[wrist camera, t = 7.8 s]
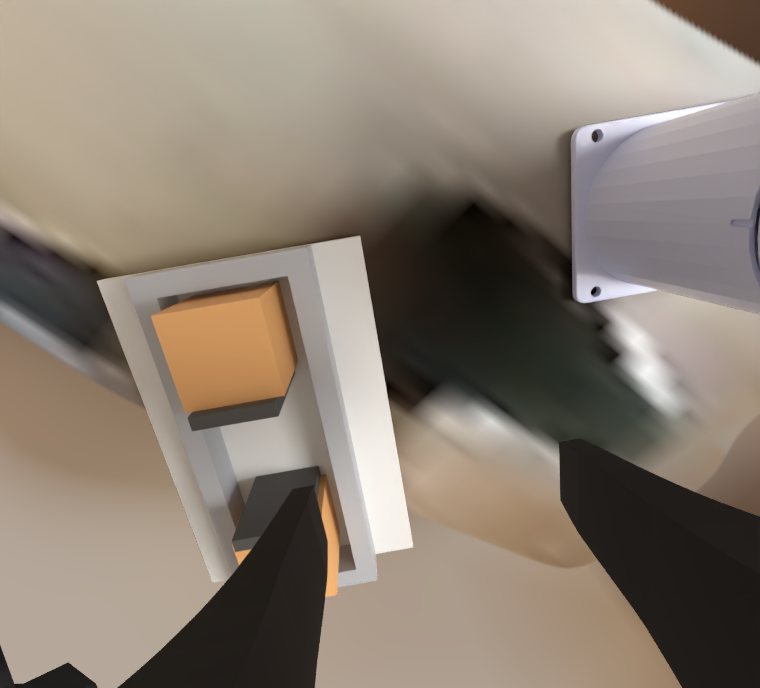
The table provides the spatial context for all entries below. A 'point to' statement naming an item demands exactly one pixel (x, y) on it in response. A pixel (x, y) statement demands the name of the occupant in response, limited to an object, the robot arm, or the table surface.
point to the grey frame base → (296, 419)
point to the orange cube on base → (229, 354)
